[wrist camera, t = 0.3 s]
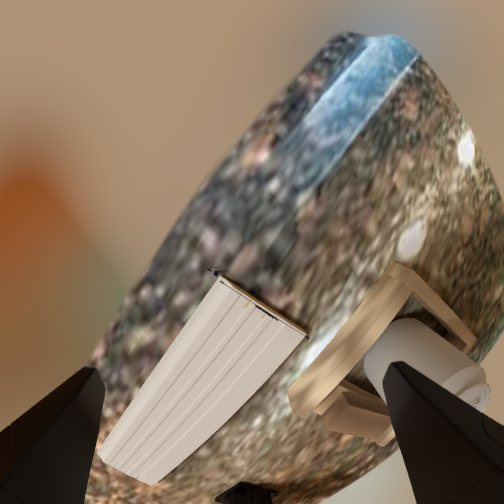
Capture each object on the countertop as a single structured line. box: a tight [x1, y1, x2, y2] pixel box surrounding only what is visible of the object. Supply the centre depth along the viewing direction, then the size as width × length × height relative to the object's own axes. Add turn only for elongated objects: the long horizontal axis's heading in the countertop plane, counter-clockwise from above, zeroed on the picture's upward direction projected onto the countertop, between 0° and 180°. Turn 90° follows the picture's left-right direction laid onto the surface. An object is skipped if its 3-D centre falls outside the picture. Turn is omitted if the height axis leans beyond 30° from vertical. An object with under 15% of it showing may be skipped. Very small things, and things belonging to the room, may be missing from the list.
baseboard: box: [97, 267, 310, 486], centre depth 24 cm, size 30×3×10 cm
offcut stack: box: [313, 379, 392, 440], centre depth 24 cm, size 4×8×4 cm, turn 54°
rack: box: [287, 261, 477, 447], centre depth 23 cm, size 15×13×4 cm
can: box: [364, 318, 491, 413], centre depth 19 cm, size 8×8×12 cm
